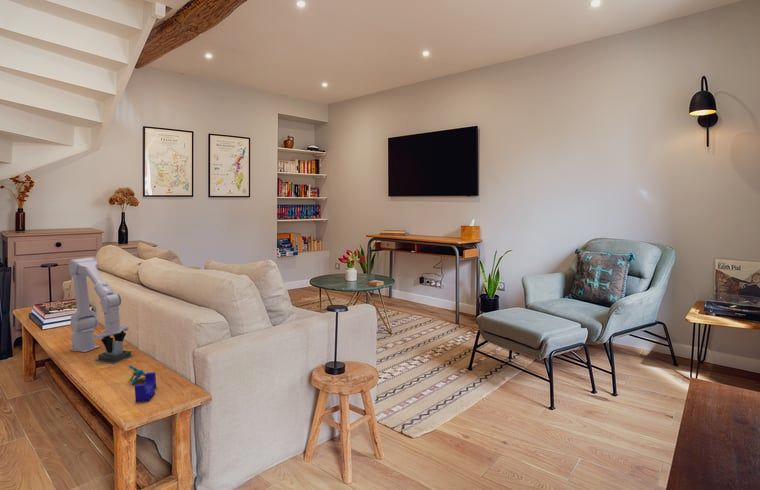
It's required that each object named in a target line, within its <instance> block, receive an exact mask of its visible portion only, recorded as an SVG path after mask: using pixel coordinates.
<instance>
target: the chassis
mask: <svg viewBox="0 0 760 490" xmlns="http://www.w3.org/2000/svg"><path fill="white" fill-rule="evenodd" d="M131 352H132V351H130V350H127V349H126V350H124V349H123V354H120V355H117V356H110V355H105V351H104V352H101V353H99V354H97V357H98V358H97V359H95V360H94V361H95V362H101V363H106V364H111V365H112V364H114V365H115V364H117V363H119V362H122V361H125V360H127V359H130V358H132V357H134V356H135V355H134V354H132V353H131Z"/></svg>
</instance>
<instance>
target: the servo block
mask: <svg viewBox="0 0 760 490" xmlns="http://www.w3.org/2000/svg"><path fill="white" fill-rule="evenodd" d="M123 344H124V342H122V341H116V340H115V339H113V343H112V353H109V352H107V350H106V347H105V346H104V352H105V355H110V356H117V355H120V354H123V350H124V346H123Z"/></svg>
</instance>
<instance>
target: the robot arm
mask: <svg viewBox="0 0 760 490" xmlns="http://www.w3.org/2000/svg"><path fill="white" fill-rule="evenodd" d="M98 266H99V264H98V260H97V258H95V256H90V257H83V258H75V259H74V258H72V259H70V261H69V263H68V271H69V272H68V273H69V276H70V277H71V278H73V287H74V294H75V295H74V296H75V302H76V304H75V305H76V311H75V313H73V314H72V315H71V316H70V325H69V326H70V329H71V330H72V333H71V335H70V336H71V337H70V339H71V340H70V341H71V348H70V351H75V352H81V353H87V352H89V351H92V350H94V349H99V348H100V347H101V346H100V345H98V344H97V345H96V340H98V341H101V342H102V343H103V346H104V348H105V347H106V350H107V352H109V353H112V343H113V340H116V341H122V342H123V341H124V339H125V337H126V335H127V333H126V332H127V331H130V329H129V325H124V326H121V322H120V307H119V306H120V305H121V304H122V298H121V295H120V293H118V292H116V291H114V290H113V288H111V285H110V284H109V283H108V281H104V280H103V278H102V276H101V274H100V272H99V270H98V268H99V267H98ZM87 278H89V279H90V281H91V282H92V283H93V284H94V287H93V289H94V291H95V293H96V295H97V296H98V297H99V299H100V301H99V304H100V306H101V311H102V312H103V316H104V317H103V321H104V331H103V332H100V333H98V334H96V336H95V330H96V328H97V327H98V325H99V319H98V317H97V313H96V312H95V311H93V310H91V309H90V308H91V307H90V297H89V291H88V290H89V289H88V281H87ZM112 336H113V337H112ZM95 337H96V338H95ZM123 343H124V342H123Z"/></svg>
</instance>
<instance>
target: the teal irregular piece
mask: <svg viewBox="0 0 760 490" xmlns="http://www.w3.org/2000/svg"><path fill="white" fill-rule="evenodd" d="M128 368H129V369H131V370H132V372H133V373H132V376H131V377H130V378H129V381H130V382H131V383H130V384H131V385H134V384H135V382H137V380H138V379H140V378H141V377H142V376H144V377H145V378H146V375H145V374H146V373H145V371H144V370H143V369H138V368H136V367H134V366H133V365H131V364H130V365H129V366H128Z"/></svg>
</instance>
